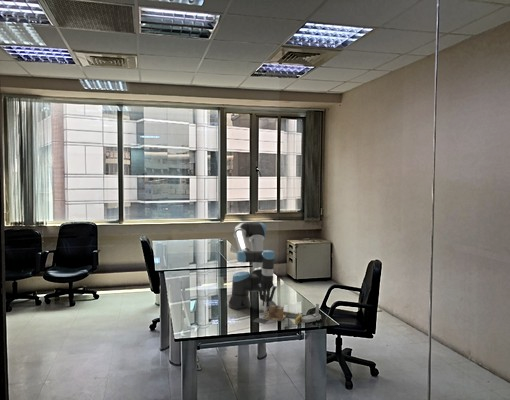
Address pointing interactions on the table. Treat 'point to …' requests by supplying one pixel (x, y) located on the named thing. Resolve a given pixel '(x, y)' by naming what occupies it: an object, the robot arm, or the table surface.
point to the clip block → (276, 311)
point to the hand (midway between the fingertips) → (265, 311)
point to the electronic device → (312, 316)
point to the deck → (273, 317)
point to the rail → (293, 316)
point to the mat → (261, 320)
